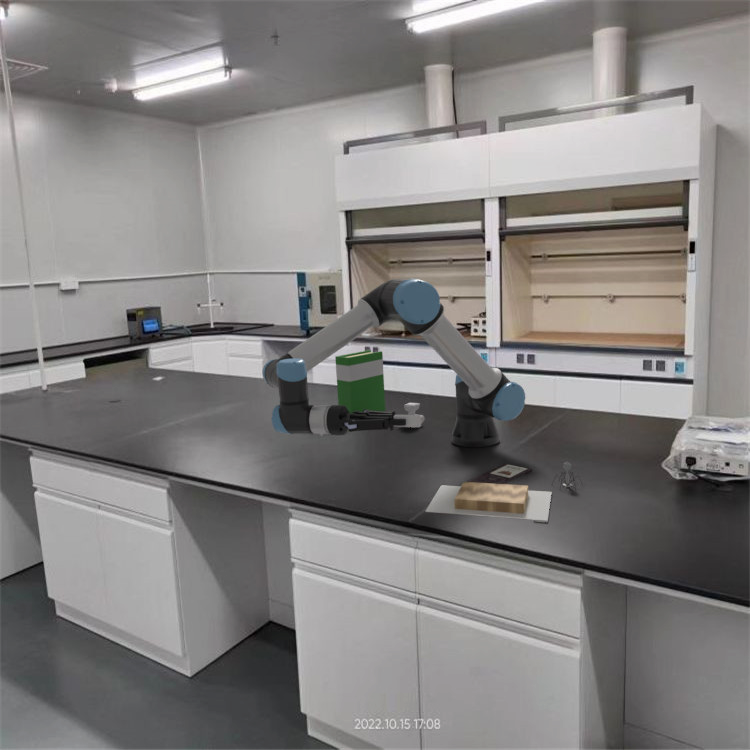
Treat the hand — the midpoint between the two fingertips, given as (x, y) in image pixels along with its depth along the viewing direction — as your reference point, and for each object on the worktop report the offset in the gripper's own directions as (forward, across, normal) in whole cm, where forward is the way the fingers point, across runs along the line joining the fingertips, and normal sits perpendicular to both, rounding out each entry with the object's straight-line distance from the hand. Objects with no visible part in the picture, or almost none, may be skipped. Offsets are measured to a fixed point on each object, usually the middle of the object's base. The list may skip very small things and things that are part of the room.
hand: (419, 421), depth 158 cm
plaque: (+9, 0, -19) cm, 21 cm away
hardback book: (-45, -82, -21) cm, 96 cm away
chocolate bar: (+16, -19, -21) cm, 33 cm away
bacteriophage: (+34, -15, -21) cm, 43 cm away
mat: (+16, 0, -20) cm, 26 cm away
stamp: (-21, -67, -21) cm, 73 cm away
